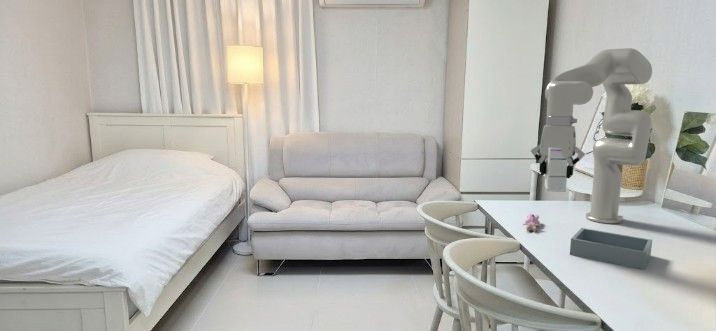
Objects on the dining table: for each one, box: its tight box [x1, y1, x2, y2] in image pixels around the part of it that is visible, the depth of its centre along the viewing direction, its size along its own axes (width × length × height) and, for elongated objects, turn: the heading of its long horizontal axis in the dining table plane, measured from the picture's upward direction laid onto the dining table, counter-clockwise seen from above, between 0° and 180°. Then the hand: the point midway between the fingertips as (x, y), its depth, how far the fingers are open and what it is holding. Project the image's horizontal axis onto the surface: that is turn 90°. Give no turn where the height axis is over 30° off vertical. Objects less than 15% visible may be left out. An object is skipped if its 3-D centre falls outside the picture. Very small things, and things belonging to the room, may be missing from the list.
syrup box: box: [544, 147, 568, 193], centre depth 151 cm, size 6×6×14 cm
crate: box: [569, 227, 653, 271], centre depth 143 cm, size 14×20×5 cm
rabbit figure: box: [522, 213, 542, 233], centre depth 171 cm, size 6×6×15 cm
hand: (555, 175), depth 152 cm, fingers closed on syrup box, 7 cm apart
